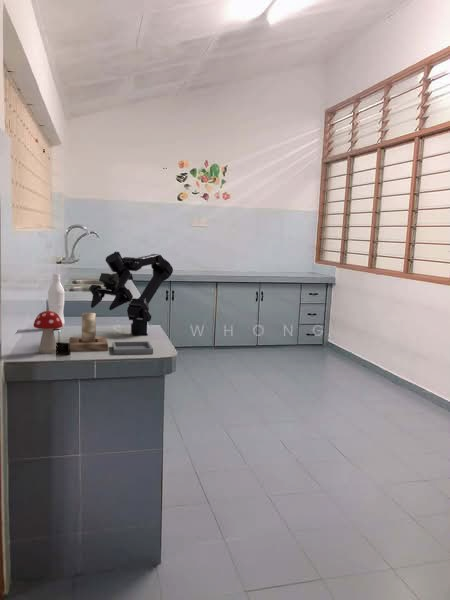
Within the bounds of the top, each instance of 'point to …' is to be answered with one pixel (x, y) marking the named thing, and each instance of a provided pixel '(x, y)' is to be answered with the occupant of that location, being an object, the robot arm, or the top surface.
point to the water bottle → (56, 297)
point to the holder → (88, 344)
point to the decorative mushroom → (47, 330)
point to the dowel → (88, 327)
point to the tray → (132, 348)
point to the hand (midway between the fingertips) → (100, 308)
